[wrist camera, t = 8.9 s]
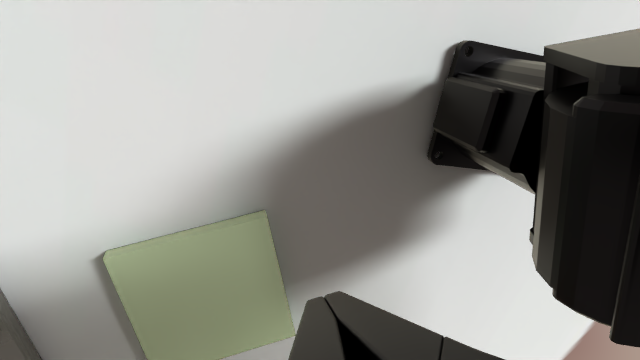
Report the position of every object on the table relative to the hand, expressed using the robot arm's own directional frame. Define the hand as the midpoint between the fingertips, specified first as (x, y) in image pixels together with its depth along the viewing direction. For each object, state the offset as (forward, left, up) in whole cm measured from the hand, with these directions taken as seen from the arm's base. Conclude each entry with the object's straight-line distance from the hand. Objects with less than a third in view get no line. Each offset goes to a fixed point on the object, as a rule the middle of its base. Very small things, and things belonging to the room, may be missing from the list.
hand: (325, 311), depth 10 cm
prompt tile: (+2, +8, -12) cm, 15 cm away
